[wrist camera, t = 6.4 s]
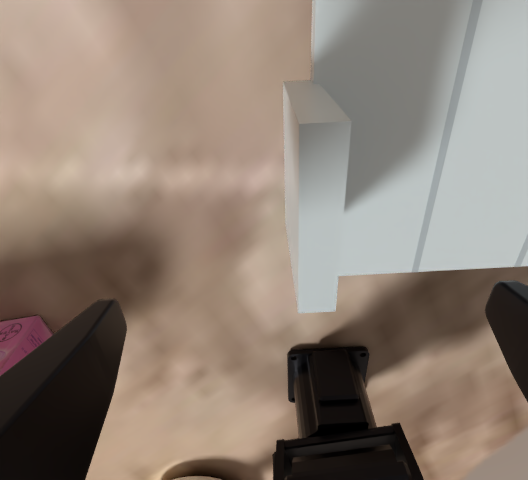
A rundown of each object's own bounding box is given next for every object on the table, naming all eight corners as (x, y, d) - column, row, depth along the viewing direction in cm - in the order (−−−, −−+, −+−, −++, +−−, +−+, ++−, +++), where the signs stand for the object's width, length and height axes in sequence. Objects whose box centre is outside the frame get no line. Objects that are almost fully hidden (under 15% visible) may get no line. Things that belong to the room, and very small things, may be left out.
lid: (605, 251, 17) (735, 341, 13) (286, 268, 17) (298, 363, 13) (768, -31, 11) (1132, -58, 7) (281, -2, 11) (300, -9, 7)
